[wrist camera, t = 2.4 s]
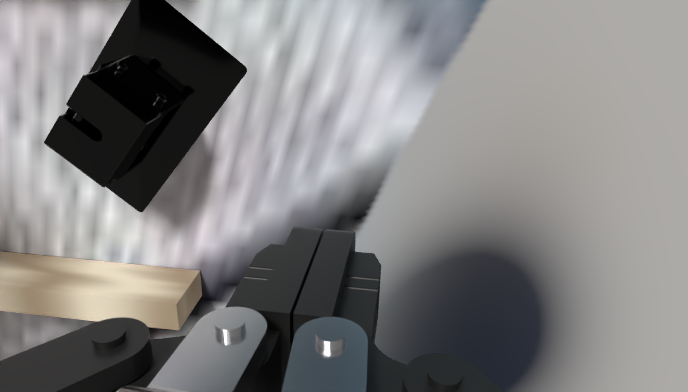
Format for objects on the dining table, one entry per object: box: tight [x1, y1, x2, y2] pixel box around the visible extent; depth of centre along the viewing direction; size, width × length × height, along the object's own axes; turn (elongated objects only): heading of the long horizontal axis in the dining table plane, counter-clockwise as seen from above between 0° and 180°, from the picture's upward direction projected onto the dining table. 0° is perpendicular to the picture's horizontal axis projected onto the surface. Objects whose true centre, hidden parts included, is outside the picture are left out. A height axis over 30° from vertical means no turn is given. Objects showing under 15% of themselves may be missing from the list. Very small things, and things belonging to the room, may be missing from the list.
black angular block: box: [44, 0, 247, 212], centre depth 23 cm, size 12×7×5 cm, turn 140°
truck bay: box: [0, 251, 202, 330], centre depth 24 cm, size 15×19×4 cm
